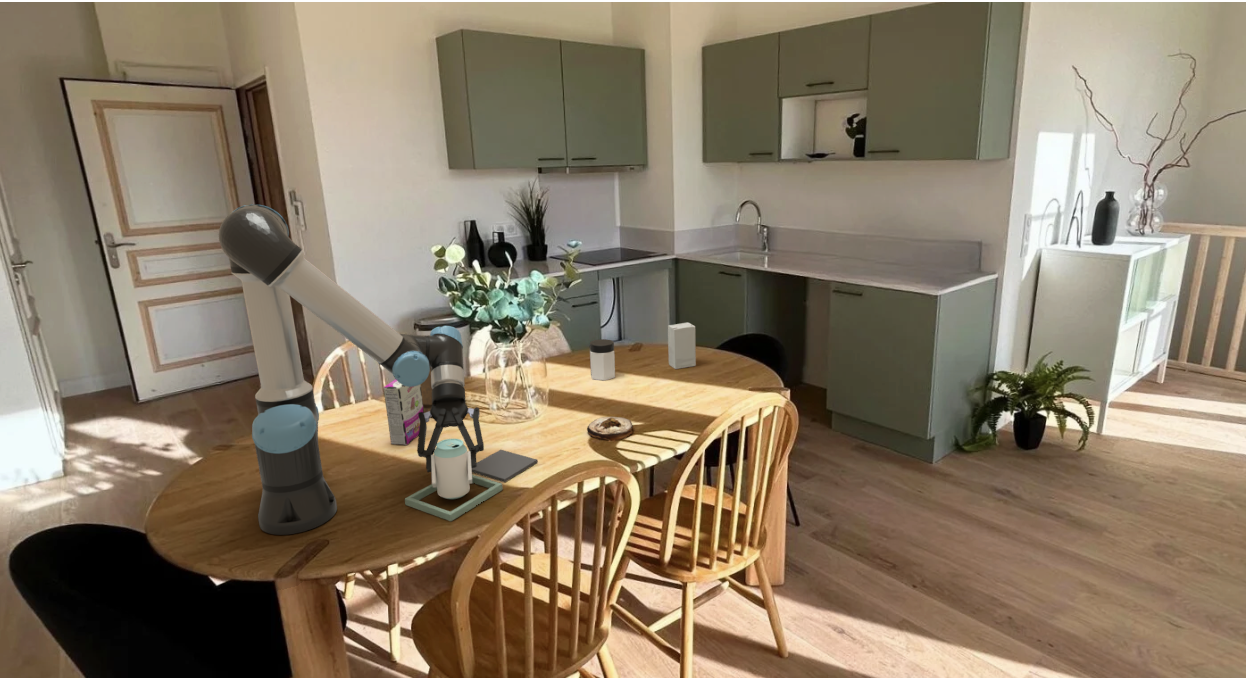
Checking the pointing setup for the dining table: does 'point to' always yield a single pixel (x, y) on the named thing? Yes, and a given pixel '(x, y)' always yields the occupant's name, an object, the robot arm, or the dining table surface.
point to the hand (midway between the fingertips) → (452, 483)
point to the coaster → (503, 465)
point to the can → (451, 469)
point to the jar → (602, 359)
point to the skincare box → (681, 345)
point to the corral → (450, 516)
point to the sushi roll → (610, 428)
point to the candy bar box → (403, 411)
